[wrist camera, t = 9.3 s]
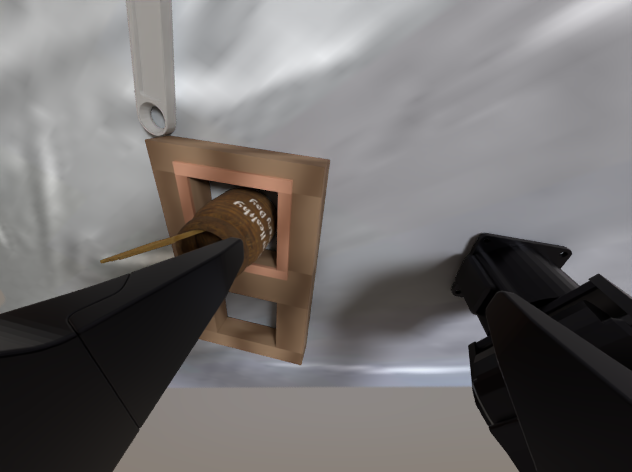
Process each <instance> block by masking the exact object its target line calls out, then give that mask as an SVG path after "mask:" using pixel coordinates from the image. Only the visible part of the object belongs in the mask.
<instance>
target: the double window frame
mask: <svg viewBox="0 0 632 472" xmlns="http://www.w3.org/2000/svg"><path fill="white" fill-rule="evenodd" d="M145 143H146V146H147V150H148V154H149V158H150V162H151V166H152V170H153V174H154V178H155V182H156V185H157V189H158V193H159V197H160V201H161V205H162V209H163V213H164V217H165V221H166V225H167V228H168V232H169V236H170V237H173V236H176V235H177V234H178V232H179V231H180V230H181V228H182V227H183V226H184V225H185V224H186V223H187V222H189V221H190V220H192V219H193V217H194V215H195V214H196V213H197V212H198V211H199V210H200V209H201V208H202V207H203V206H205V205H206V204H207V203H209V202H210V201H212V198H211V191H210V183H209V180H210V181H216V182H222V183H228V184H234V185H240V186H245V187H251V188H257V189H263V190H269V191H275V192H278V222H277V251H272V250H267V249H265V250H264V251H263V252H262V254H261V255H260V256H259V258H258V259H257V260H256V261H255V262H254V263H252V264H251V265H250V266H248V267H246V269H245V270H244V271H243V272H242V273H241V274H240V275H239V276H238V277H237V278H235V280H234V282H233V284H232V286H231V288H230V290H229V292H232V293H236V294H241V295H245V296H250V297H254V298H258V299H263V300H267V301H272V302H276V303H277V320H276V328H272V327H268V326H264V325H260V324H255V323H251V322H247V321H243V320H239V319H235V318H231V317H228V316H227V309H226V301H225V299H224V300H223V302H222V304H221V305H220V307H219V308H218V310H217V311H216V313H215V314H214V316H213V317H212V319H211V321H210V322H209V324H208V325H207V327H206V328H205V330H204V331H203V333H202V334H201V336H200V337H199V339H201V340H205V341H209V342H213V343H216V344H220V345H224V346H228V347H232V348H236V349H240V350H244V351H248V352H252V353H255V354H259V355H263V356H267V357H271V358H275V359H279V360H283V361H287V362H291V363H294V364H298V365H301V364H302V360H303V356H304V353H305V349H306V343H307V335H308V327H309V319H310V312H311V304H312V296H313V289H314V281H315V273H316V265H317V258H318V250H319V242H320V234H321V227H322V219H323V211H324V204H325V196H326V188H327V180H328V173H329V165H330V160H328V159H322V158H315V157H308V156H302V155H295V154H288V153H282V152H275V151H268V150H262V149H255V148H248V147H242V146H235V145H229V144H222V143H215V142H209V141H202V140H195V139H189V138H182V137H175V136H169V135H168V136H163V137H157V138H151V139H146V140H145ZM172 248H173V252H174V256H175V257H176V256H178V254H177V251H176V245H175V243H172Z"/></svg>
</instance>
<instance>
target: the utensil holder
mask: <svg viewBox="0 0 632 472" xmlns="http://www.w3.org/2000/svg"><path fill="white" fill-rule="evenodd" d="M277 222H278V217H277V213H276V210H275V208H274V206H273V204H272V203H271V201H270V200H269V199H268V198H267V197H266V196H265V195H263V194H262V193H260V192H259V191H257V190H254V189H251V188H247V187H239V188H234V189H231V190H229V191H227V192H225V193H223V194H221V195H220V196H218V197H217V198H215V199H213V200H212V201H210V202H209V203H207V204H206V205H205V206H203V207H202V208H201V209H200V210H199V211H198V212H197V213H196V214H195V215H194V217H193V219H192V220H190V221H189V222H187V223H186V224H185V225H184V226H183V227H182V228H181V230H180V231H179V232H178V234H177V235H176V236H173V237H170V238H167V239H163V240H159V241H155V242H152V243H149V244H146V245H143V246H140V247H137V248H135V249H132V250H129V251H126V252H123V253H120V254H117V255H115V256H112V257H109V258H106V259H103V260H101V261H100V262H101V263H106V262H109V261H115V260H118V259H119V260H121V259H124V258H128V257H131V256H134V255H137V254H140V253H144V252H147V251H150V250H153V249H157V248H160V247H163V246H166V245H169V244H172V243H175V245H176V251H177V254H178V256H179V255H182V254H185V253H188V252H190V251H193V250H196V249H199V248H202V247H205V246H207V245H210V244H213V243H216V242H219V241H221V240H224V239H227V238H230V237H234V238H239V239H242V240H243V247H244V261H243V264H242V266H241V268H240V270H239V272H238V274H237V276H236V278H237V277H238V276H239V275H240V274H241V273H242V272H243V271H244V270H245V269H246V267H248V266H250V265H251V264H252V263H254V262H255V261H256V260H257V259H258V258H259V256H260V255H261V254H262V252H263V251H264V250H265V248H266V247H267V245H268V244H269V243H270V241H271V240H272V238H273V236H274V235H275V232H276V230H277Z"/></svg>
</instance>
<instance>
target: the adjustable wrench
mask: <svg viewBox="0 0 632 472" xmlns="http://www.w3.org/2000/svg"><path fill="white" fill-rule="evenodd" d="M126 7H127V17H128V27H129V37H130V47H131V57H132V67H133V77H134V87H135V97H136V107H137V115H138V119H139V121H140V123H141V124H142V126H143V127H144V128H145V129H146V130H147V131H148V132H149V133H151V134H153V135H156V136H160V135H166V134H171V133H172V132H173V131H174V130H175V128H176V103H175V76H174V50H173V23H172V0H126ZM153 106H157V107H158V108H159V109H160V111H161V112H162V114H163V116H164V119H165V128H163V129H162V128H159V127H158V126H157V125H156V124H155V123H154V121H153V119H152V116H151V109H152V107H153Z"/></svg>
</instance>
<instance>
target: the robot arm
mask: <svg viewBox="0 0 632 472" xmlns="http://www.w3.org/2000/svg"><path fill="white" fill-rule="evenodd" d="M486 238H489V239H488V240H487V241H484V240H485V239H486ZM562 252H564V253H562ZM560 253H562V254H560ZM571 255H572V252H571V250H569V249H568V248H567V247H564V246H559V245H553V244H547V243H541V242H535V241H530V240H524V239H518V238H512V237H507V236H501V235H495V234H489V233H484V234H482V235H480V236H479V237H478V239H477V241H476V243H475V245H474V247H473V248H472V250H471V252H470V254H469V255H468V256H467V257H466V258H465V260H464V262H463V264H462V266H461V267H460V269H459V271H458V273H457V275H456V277H455V282H454V284H453V286H452V288H451V291H452V293H453V295H455V296H459V297H464V299H465V301H466V303H467V305H468V307H469V309H470V311H471V312H472V314H474V315H477V316H478V318H479V320H480V322H481V324H482V326H483V328H484V330H485V332H486V334H487V336H488V337H486V338H484V339H482V340H480V341H478V342H473V343H471V344H470V345H468V348H469V359H470V369H471V379H472V389H473V394H474V398H475V403H476V406H477V408H478V409H479V410H480V412H481V415H482V416H483V418H484V420H485V421H486V423H487V425H488V426H489V430H490V432H491V433H492V434H493V436H494V437H495V438H496V440H497V441H498V442H499V443H500V445H501V446H502V447H503V449H504V450H505V451H506V452H507V454H508V455H509V457H510V458H511V460H512V461H513V463H514V464H515V466H516V467H517V469H518V470H519V472H632V297H631V296H630V295H628V294H627V293H625V292H624V291H623V290H621V289H620V288H618V287H617V286H616V285H614V284H613V283H611V282H610V281H609V280H607V279H606V278H604V277H603V276H602V275H600V274H597V275H595V276H593V277H591V278H589V280H590V281H588V282H586V283H585V284H583V285H581V286H579V285H578V284H577V283H576V282H575V281H574V280H572V279H571V278H570V277H569V276H568V275H567V274H566V273H565V272H563V271H562V270H561V267H562V266H563V265H564V264H565V262H566V261H567V260H568V259H569V258H570V256H571ZM243 261H244V247H243V240H242V239H239V238H234V237H230V238H227V239H224V240H221V241H219V242H216V243H213V244H210V245H207V246H205V247H202V248H199V249H196V250H193V251H190V252H188V253H185V254H182V255H179V256H176V257H174V258H171V259H168V260H165V261H162V262H160V263H157V264H154V265H151V266H148V267H145V268H143V269H140V270H137V271H134V272H132V273H131V274H126V275H123V276H120V277H117V278H114V279H111V280H108V281H106V282H103V283H100V284H97V285H94V286H91V287H87V288H84V289H81V290H78V291H75V292H71V293H68V294H65V295H62V296H58V297H55V298H52V299H48V300H45V301H42V302H38V303H35V304H32V305H28V306H25V307H22V308H18V309H15V310H12V311H9V312H5V313H2V314H0V472H113V470H114V469H115V467H116V466H117V464H118V463H119V461H120V459H121V458H122V456H123V455H124V453H125V451H126V450H127V449H128V447H129V446H130V444H131V443H132V441H133V439H134V438H135V436H136V435H137V433H138V432H139V428H141V427H142V425H143V424H144V422H145V420H146V419H147V418H148V416H149V414H150V413H151V411H152V410H153V408H154V407H155V405H156V404H157V402H158V401H159V399H160V397H161V396H162V394H163V393H164V391H165V390H166V388H167V387H168V385H169V384H170V382H171V381H172V379H173V378H174V376H175V374H176V373H177V371H178V370H179V368H180V367H181V365H182V364H183V362H184V361H185V359H186V357H187V356H188V354H189V353H190V351H191V350H192V348H193V347H194V345H195V344H196V342H197V341H198V339H199V337H200V336H201V334H202V333H203V331H204V330H205V328H206V327H207V325H208V324H209V322H210V321H211V319H212V317H213V316H214V314H215V313H216V311H217V310H218V308H219V307H220V305H221V304H222V302H223V300H224V299H225V297H226V296H227V294H228V292H229V290H230V288H231V286H232V284H233V282H234V280H235V278H236V276H237V274H238V272H239V270H240V268H241V266H242V264H243ZM456 290H459V291H456Z"/></svg>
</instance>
